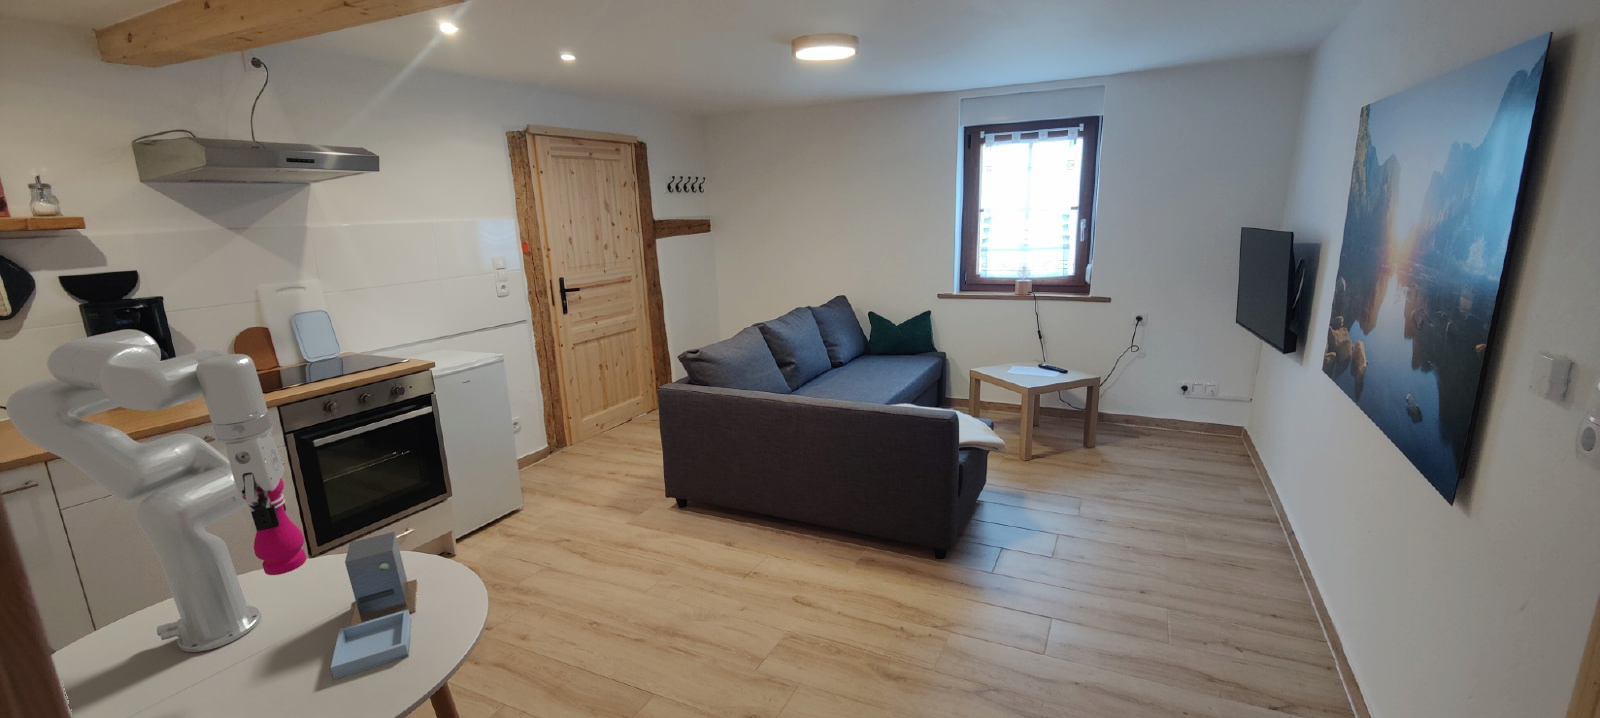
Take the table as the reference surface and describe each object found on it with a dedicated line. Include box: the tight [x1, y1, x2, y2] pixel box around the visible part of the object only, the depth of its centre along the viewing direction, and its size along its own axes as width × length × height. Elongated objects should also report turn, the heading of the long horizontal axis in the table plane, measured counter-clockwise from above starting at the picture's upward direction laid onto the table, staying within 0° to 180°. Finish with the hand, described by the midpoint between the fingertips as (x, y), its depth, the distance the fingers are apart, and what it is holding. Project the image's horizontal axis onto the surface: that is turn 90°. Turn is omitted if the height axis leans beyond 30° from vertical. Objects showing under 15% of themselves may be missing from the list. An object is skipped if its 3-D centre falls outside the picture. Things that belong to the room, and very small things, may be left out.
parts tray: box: [330, 610, 412, 680], centre depth 126 cm, size 12×12×3 cm
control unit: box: [344, 531, 418, 626], centre depth 137 cm, size 11×11×14 cm
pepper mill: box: [242, 477, 307, 576], centre depth 120 cm, size 7×7×20 cm
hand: (271, 519), depth 120 cm, fingers closed on pepper mill, 5 cm apart
